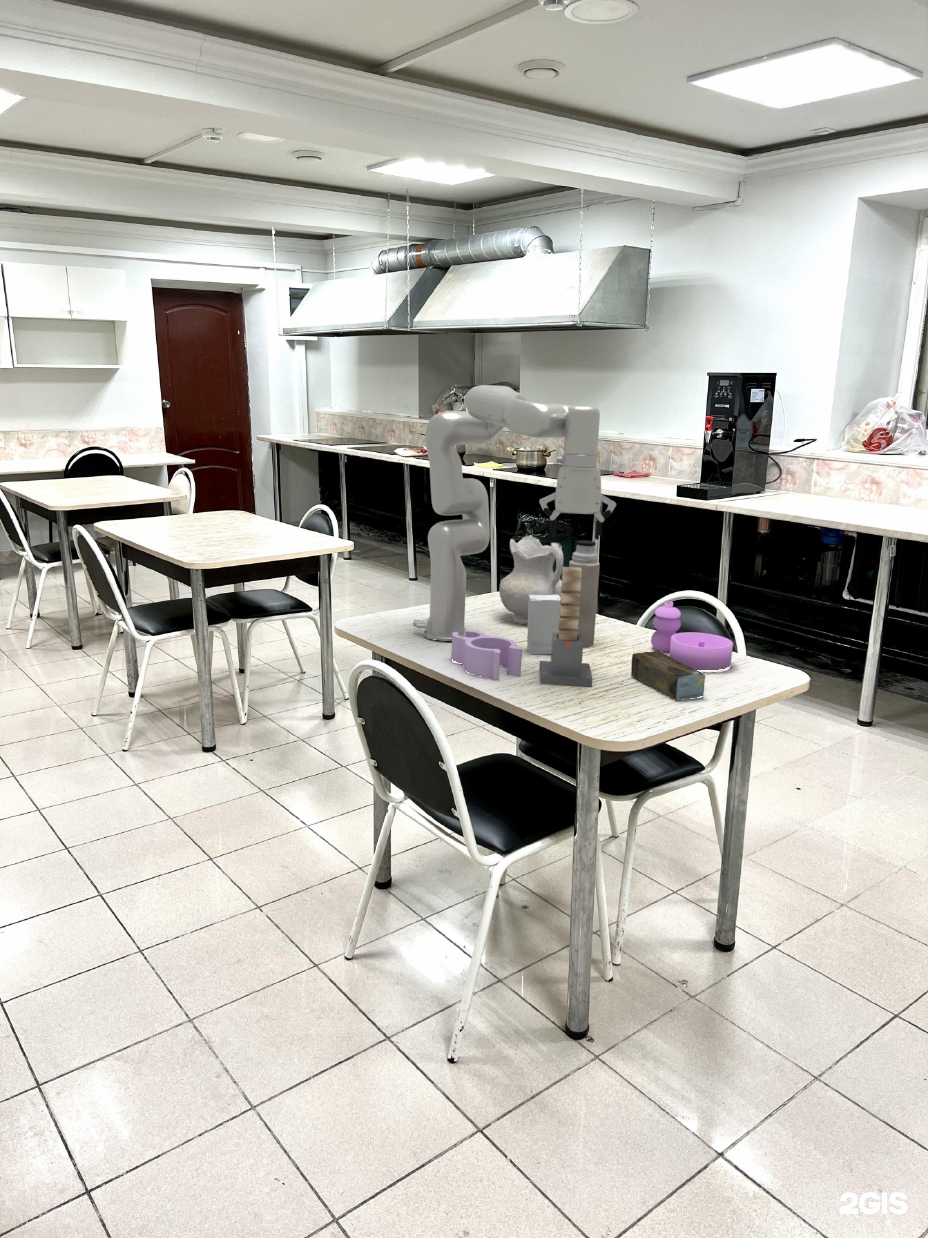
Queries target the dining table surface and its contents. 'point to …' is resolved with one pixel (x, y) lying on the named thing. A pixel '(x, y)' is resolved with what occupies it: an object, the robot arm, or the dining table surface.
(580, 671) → the sleeve base
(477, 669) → the clip
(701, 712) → the dining table surface
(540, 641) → the skincare box
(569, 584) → the post
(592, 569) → the thermos bottle
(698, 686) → the beverage carton
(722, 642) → the container set
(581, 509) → the robot arm
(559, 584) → the ceramic pitcher
